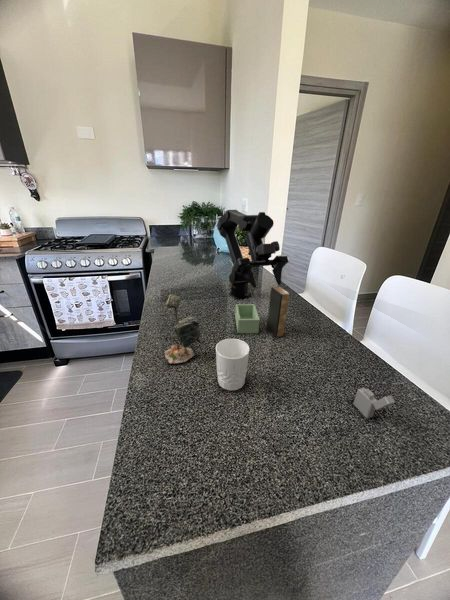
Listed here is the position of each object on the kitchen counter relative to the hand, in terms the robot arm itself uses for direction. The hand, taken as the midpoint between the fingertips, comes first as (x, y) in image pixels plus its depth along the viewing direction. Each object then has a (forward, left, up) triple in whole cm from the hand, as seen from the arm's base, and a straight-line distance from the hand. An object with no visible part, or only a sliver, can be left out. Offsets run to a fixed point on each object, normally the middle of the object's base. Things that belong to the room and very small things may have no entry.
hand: (267, 286), depth 84 cm
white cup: (+28, +17, -14) cm, 36 cm away
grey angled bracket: (+10, +42, -14) cm, 46 cm away
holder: (+7, -2, -13) cm, 15 cm away
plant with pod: (+33, +1, -14) cm, 36 cm away
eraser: (+2, +7, -13) cm, 15 cm away
